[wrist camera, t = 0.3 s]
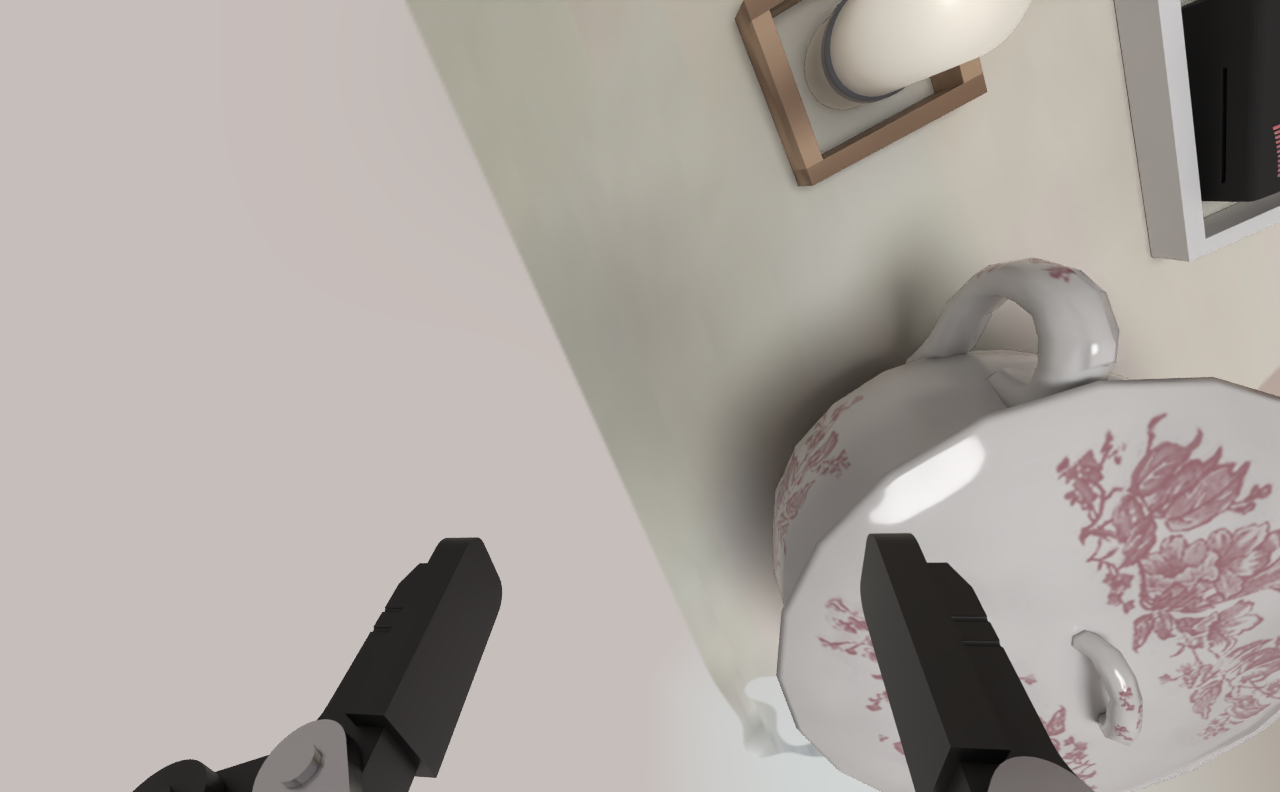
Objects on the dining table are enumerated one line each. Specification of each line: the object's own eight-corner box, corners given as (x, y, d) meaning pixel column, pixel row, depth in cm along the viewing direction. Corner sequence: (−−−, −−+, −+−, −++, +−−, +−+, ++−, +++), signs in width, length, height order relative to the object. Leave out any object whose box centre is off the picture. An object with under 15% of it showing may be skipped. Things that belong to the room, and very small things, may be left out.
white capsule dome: (788, 38, 29) (874, -55, 18) (877, -15, 28) (1027, -150, 17) (820, 129, 31) (916, 95, 20) (905, 82, 30) (1058, 18, 19)
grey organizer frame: (1113, -5, 28) (1155, -22, 26) (1363, -141, 26) (1433, -174, 23) (1151, 256, 33) (1189, 261, 31) (1362, 163, 31) (1419, 160, 29)
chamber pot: (925, 641, 47) (1117, 956, 27) (666, 525, 42) (680, 804, 23) (1176, 396, 37) (1741, 618, 18) (875, 211, 32) (1199, 242, 13)
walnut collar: (734, 18, 29) (743, 0, 26) (907, -89, 27) (936, -122, 24) (798, 185, 32) (812, 185, 29) (955, 101, 30) (987, 91, 27)
